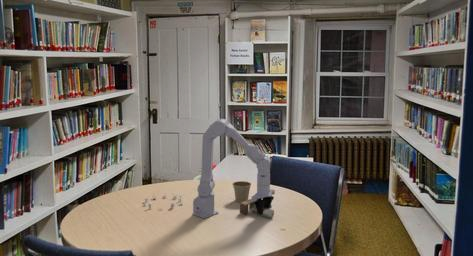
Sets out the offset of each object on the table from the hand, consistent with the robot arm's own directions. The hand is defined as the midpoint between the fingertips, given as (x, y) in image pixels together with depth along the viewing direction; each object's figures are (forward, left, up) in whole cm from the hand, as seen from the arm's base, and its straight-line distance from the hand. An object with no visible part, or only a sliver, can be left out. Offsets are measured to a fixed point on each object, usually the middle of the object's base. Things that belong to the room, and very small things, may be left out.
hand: (263, 213), depth 196 cm
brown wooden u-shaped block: (0, +8, -1) cm, 8 cm away
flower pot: (+10, +22, -2) cm, 24 cm away
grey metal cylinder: (0, 0, +1) cm, 1 cm away
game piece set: (-19, +48, -2) cm, 51 cm away
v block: (+9, +9, -1) cm, 12 cm away
